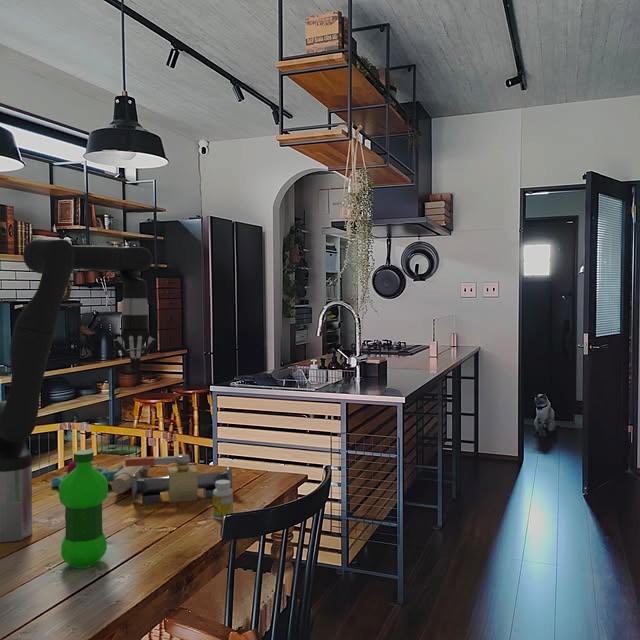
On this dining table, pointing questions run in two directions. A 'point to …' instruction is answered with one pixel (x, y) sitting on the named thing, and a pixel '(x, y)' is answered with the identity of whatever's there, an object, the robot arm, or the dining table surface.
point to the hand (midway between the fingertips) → (135, 370)
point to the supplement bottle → (222, 499)
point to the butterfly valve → (115, 477)
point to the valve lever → (157, 460)
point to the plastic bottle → (83, 512)
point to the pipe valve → (178, 484)
